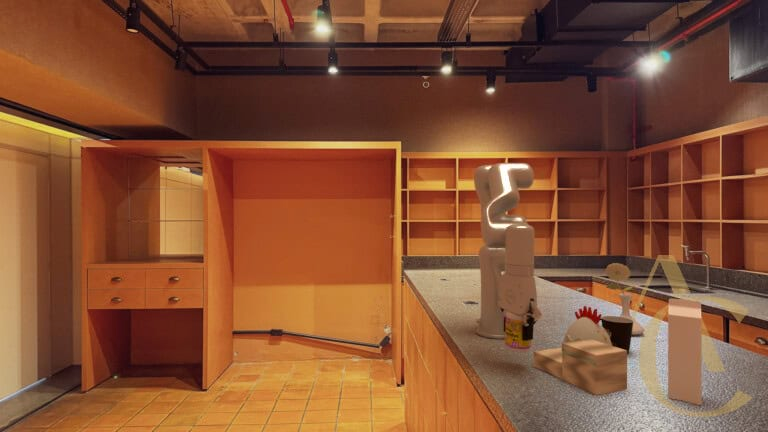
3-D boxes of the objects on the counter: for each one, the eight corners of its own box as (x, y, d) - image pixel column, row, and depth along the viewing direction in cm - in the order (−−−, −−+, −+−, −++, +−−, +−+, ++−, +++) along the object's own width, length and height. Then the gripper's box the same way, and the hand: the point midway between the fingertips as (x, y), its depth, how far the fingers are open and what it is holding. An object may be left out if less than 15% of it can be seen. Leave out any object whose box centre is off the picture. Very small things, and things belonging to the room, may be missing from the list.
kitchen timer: (593, 369, 109) (593, 313, 110) (551, 354, 122) (551, 304, 122) (625, 361, 116) (625, 309, 116) (581, 348, 128) (582, 300, 128)
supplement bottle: (499, 346, 112) (500, 300, 112) (518, 343, 115) (518, 298, 115) (517, 354, 106) (517, 306, 106) (536, 351, 109) (537, 303, 109)
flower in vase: (650, 334, 145) (650, 264, 145) (635, 339, 139) (635, 265, 139) (612, 326, 156) (612, 261, 156) (597, 330, 149) (597, 262, 150)
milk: (668, 390, 96) (668, 296, 97) (701, 396, 93) (700, 299, 93) (668, 398, 91) (667, 300, 92) (702, 405, 88) (701, 303, 88)
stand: (532, 366, 111) (533, 333, 111) (561, 361, 115) (561, 329, 115) (595, 395, 93) (595, 355, 93) (627, 388, 96) (627, 350, 97)
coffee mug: (638, 357, 119) (638, 323, 120) (606, 355, 121) (606, 321, 121) (623, 345, 131) (623, 314, 131) (594, 343, 132) (594, 313, 133)
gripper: (487, 266, 117) (486, 327, 117) (530, 276, 101) (529, 348, 101) (509, 265, 120) (508, 325, 120) (554, 274, 103) (552, 344, 104)
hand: (517, 335), depth 111 cm, fingers closed on supplement bottle, 6 cm apart
